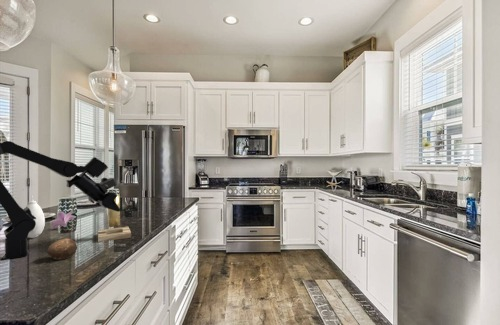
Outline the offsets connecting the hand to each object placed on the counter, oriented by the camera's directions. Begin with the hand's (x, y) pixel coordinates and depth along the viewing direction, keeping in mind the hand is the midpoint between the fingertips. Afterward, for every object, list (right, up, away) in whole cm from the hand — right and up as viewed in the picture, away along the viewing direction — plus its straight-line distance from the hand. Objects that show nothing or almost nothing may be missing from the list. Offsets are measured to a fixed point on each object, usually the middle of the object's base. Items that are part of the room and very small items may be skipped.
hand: (117, 210), depth 112 cm
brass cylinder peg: (-1, -7, -1) cm, 7 cm away
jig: (-1, -11, -1) cm, 11 cm away
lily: (-32, -11, +12) cm, 36 cm away
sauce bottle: (-34, -11, -3) cm, 36 cm away
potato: (-5, -11, -25) cm, 28 cm away
